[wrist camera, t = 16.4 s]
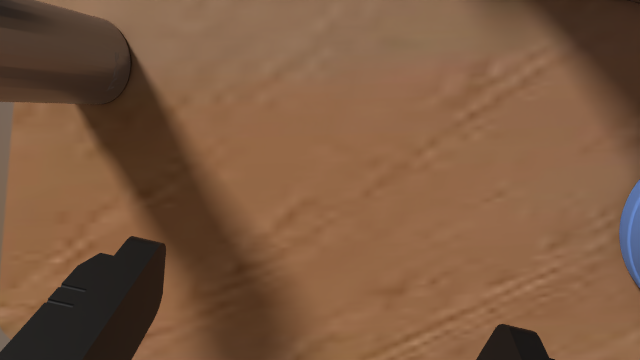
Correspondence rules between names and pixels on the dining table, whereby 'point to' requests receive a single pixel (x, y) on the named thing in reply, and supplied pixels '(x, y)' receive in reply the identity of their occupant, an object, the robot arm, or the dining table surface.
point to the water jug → (631, 233)
